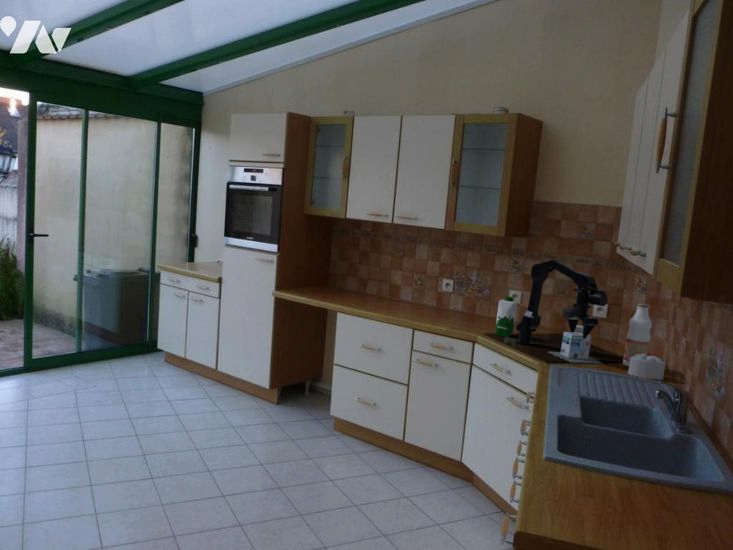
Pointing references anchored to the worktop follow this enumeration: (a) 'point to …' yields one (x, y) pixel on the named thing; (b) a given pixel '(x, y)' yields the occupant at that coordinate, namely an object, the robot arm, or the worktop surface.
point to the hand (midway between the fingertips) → (577, 336)
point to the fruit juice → (638, 334)
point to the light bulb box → (575, 345)
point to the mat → (575, 359)
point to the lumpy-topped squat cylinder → (646, 367)
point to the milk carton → (506, 317)
